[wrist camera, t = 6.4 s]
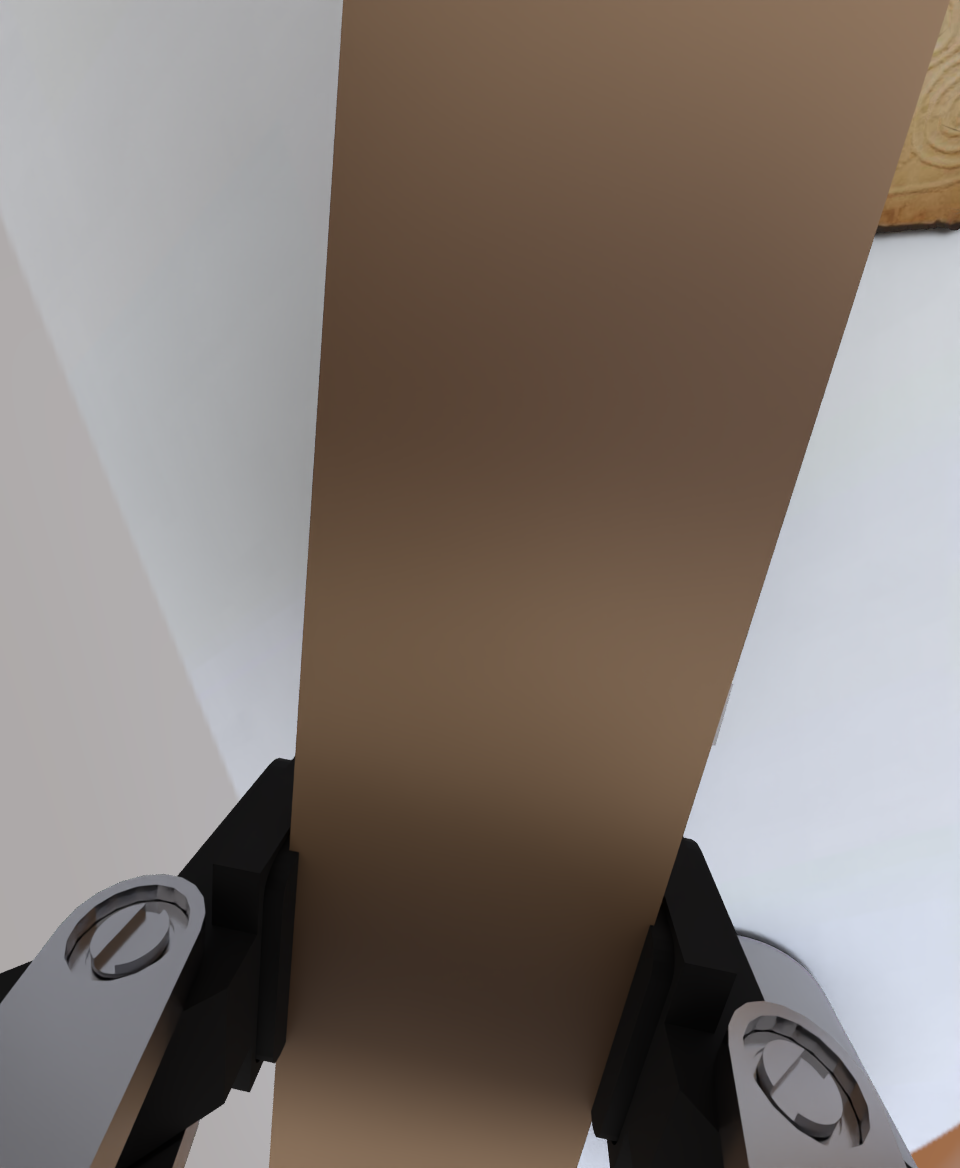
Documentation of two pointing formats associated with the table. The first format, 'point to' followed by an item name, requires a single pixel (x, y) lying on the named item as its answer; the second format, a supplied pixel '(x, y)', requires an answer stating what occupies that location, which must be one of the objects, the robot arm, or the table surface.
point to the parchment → (931, 145)
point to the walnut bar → (547, 518)
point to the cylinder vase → (803, 1002)
